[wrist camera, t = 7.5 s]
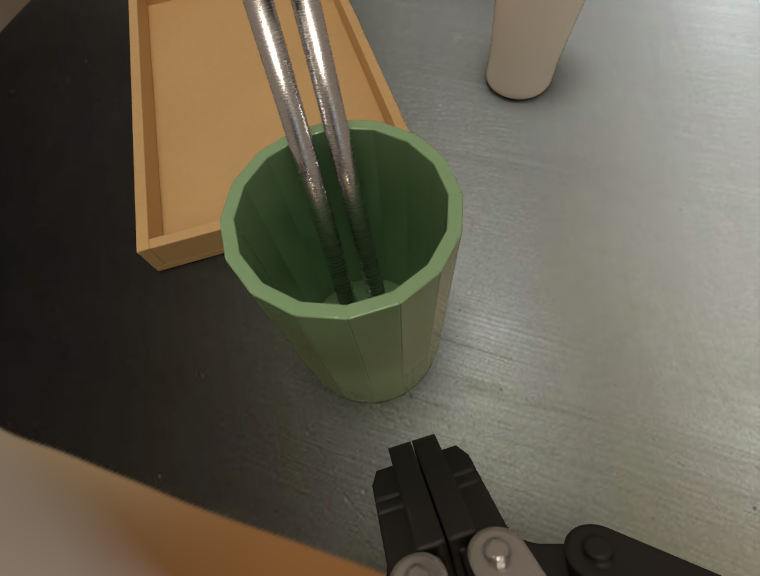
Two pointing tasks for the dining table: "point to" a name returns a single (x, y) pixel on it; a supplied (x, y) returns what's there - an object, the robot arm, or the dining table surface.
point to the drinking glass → (528, 44)
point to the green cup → (351, 258)
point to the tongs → (301, 142)
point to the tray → (221, 110)
